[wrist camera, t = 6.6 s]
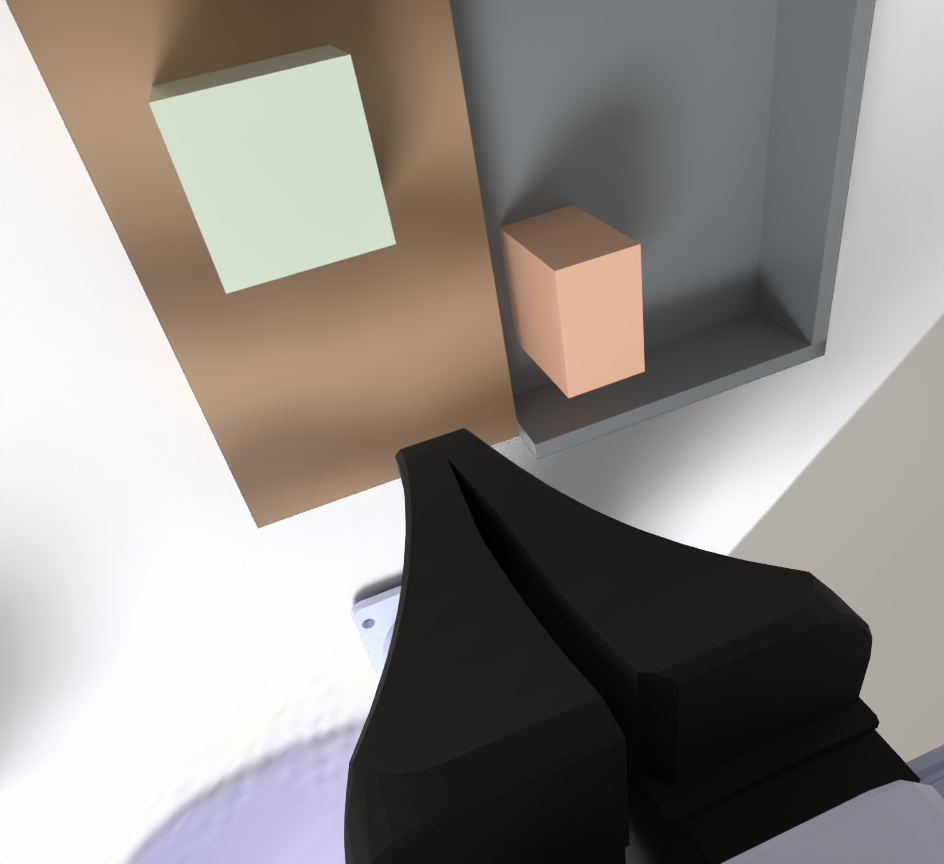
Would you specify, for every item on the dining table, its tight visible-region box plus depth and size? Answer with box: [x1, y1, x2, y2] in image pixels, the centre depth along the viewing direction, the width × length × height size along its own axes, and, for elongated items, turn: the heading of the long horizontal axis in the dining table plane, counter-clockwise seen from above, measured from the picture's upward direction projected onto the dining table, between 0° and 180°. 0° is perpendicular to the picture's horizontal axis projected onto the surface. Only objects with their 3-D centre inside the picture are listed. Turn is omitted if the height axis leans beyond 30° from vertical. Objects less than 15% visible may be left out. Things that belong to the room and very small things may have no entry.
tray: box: [449, 0, 876, 459], centre depth 21 cm, size 15×11×4 cm
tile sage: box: [149, 45, 396, 294], centre depth 16 cm, size 4×4×2 cm
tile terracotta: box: [499, 205, 645, 398], centre depth 21 cm, size 4×4×2 cm
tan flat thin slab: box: [6, 0, 519, 528], centre depth 20 cm, size 15×9×2 cm, turn 10°
